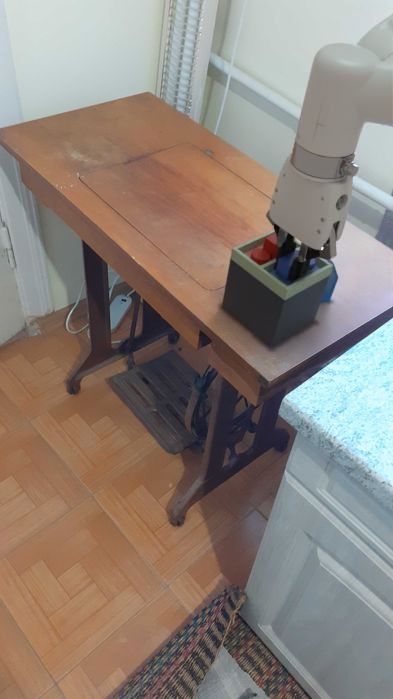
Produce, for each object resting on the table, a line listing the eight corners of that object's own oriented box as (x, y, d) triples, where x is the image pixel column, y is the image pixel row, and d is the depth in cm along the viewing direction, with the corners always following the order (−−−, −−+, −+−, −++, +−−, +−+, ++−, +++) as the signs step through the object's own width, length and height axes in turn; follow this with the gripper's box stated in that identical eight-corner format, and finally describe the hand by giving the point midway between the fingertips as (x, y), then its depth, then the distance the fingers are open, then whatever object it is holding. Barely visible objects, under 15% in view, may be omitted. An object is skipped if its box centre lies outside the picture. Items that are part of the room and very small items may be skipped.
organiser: (276, 237, 89) (278, 227, 88) (330, 275, 84) (333, 265, 82) (230, 258, 84) (232, 248, 83) (284, 300, 79) (287, 290, 77)
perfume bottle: (281, 288, 98) (297, 233, 89) (311, 283, 100) (328, 228, 91) (298, 311, 94) (316, 255, 85) (328, 304, 96) (348, 249, 87)
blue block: (287, 282, 79) (291, 267, 77) (272, 272, 81) (276, 256, 78) (318, 266, 83) (323, 251, 81) (304, 256, 84) (308, 241, 82)
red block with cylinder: (277, 243, 87) (281, 228, 85) (290, 252, 86) (294, 237, 84) (246, 257, 84) (249, 242, 82) (259, 267, 82) (263, 252, 80)
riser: (263, 288, 97) (276, 237, 89) (312, 325, 92) (330, 275, 84) (221, 310, 92) (230, 258, 84) (269, 351, 87) (284, 300, 79)
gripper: (390, 177, 65) (346, 292, 79) (294, 125, 73) (269, 237, 86) (352, 195, 62) (312, 312, 75) (255, 137, 69) (235, 253, 83)
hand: (289, 271), depth 81 cm, fingers closed on blue block, 2 cm apart
